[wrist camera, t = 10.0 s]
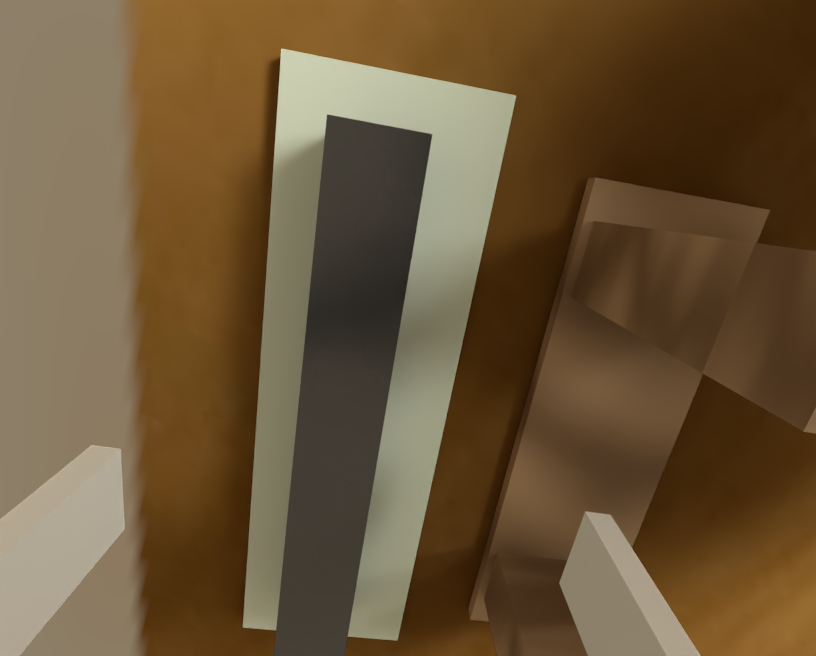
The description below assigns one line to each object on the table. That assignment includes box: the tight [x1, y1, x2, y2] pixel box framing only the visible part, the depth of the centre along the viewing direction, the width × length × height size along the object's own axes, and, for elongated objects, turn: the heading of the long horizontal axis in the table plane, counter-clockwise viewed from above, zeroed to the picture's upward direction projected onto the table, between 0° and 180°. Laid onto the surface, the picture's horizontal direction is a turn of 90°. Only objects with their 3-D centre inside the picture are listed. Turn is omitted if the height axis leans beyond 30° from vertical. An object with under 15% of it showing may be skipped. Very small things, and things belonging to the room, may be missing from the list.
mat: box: [243, 49, 516, 641], centre depth 18 cm, size 26×8×1 cm, turn 171°
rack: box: [468, 177, 816, 656], centre depth 14 cm, size 22×7×10 cm, turn 170°
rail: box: [274, 114, 432, 656], centre depth 17 cm, size 22×3×3 cm, turn 170°
